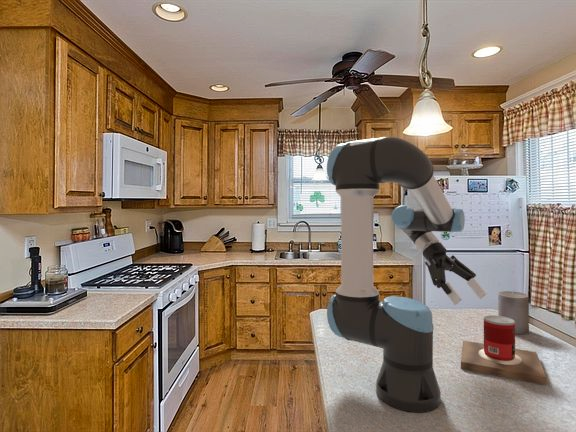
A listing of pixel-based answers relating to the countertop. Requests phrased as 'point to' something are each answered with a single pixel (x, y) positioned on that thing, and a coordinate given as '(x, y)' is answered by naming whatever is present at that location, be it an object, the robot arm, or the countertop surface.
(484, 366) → the board
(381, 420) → the countertop surface
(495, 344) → the canned food
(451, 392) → the countertop surface
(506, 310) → the pillar candle
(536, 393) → the countertop surface
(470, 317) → the countertop surface
